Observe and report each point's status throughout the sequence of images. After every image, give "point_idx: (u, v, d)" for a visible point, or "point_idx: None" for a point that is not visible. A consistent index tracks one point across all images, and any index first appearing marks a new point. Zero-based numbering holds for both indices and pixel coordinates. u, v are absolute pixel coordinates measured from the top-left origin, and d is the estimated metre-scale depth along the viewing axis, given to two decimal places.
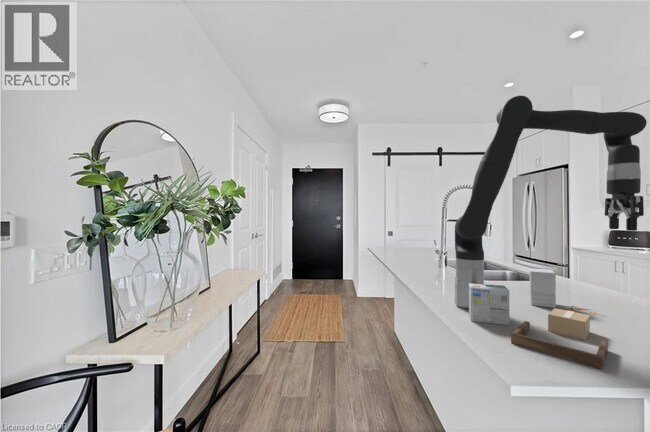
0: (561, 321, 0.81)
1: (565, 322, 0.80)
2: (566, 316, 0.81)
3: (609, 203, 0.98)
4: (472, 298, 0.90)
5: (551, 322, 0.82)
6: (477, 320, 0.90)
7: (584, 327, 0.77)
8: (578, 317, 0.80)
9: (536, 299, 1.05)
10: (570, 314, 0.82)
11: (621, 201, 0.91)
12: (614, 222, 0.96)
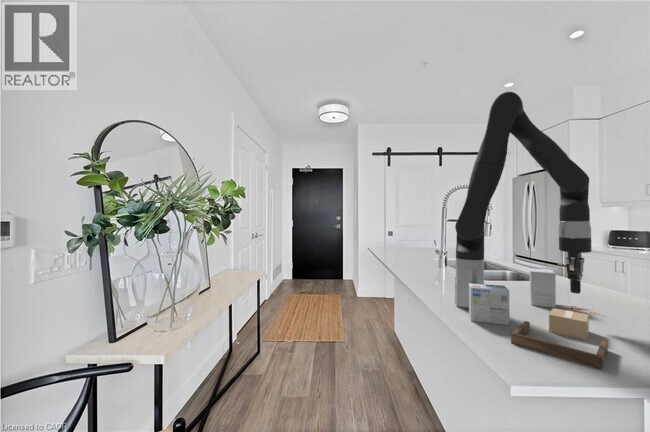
0: (562, 321, 0.80)
1: (566, 322, 0.80)
2: (567, 316, 0.81)
3: None
4: (472, 298, 0.90)
5: (552, 323, 0.82)
6: (477, 320, 0.90)
7: (585, 327, 0.77)
8: (578, 317, 0.80)
9: (536, 299, 1.05)
10: (570, 314, 0.82)
11: (568, 261, 0.88)
12: None
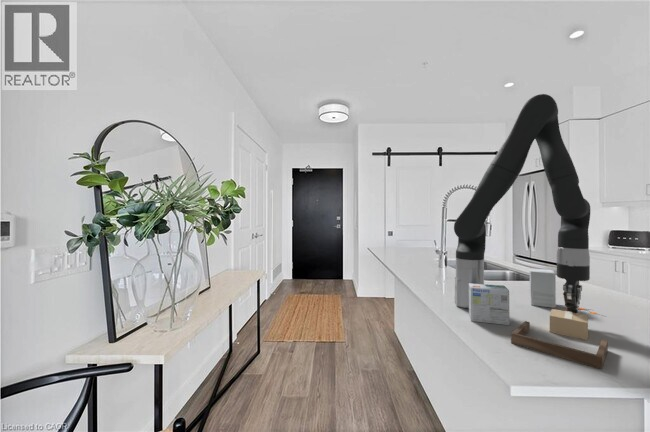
0: (563, 322, 0.80)
1: (567, 323, 0.79)
2: (567, 317, 0.80)
3: None
4: (472, 298, 0.90)
5: (552, 324, 0.82)
6: (477, 320, 0.90)
7: (586, 328, 0.77)
8: (578, 318, 0.80)
9: (536, 299, 1.05)
10: (570, 315, 0.82)
11: (565, 288, 0.86)
12: None
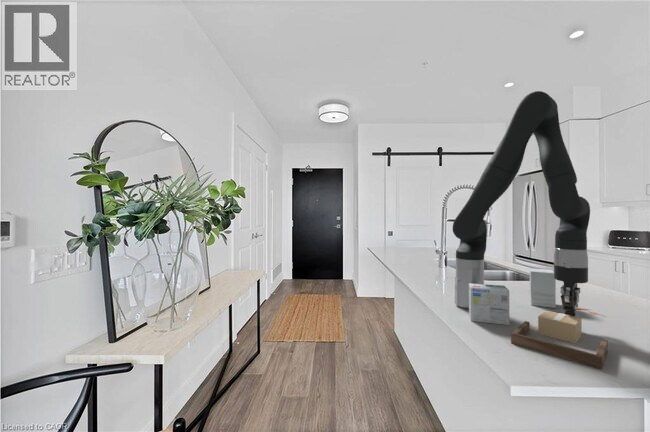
0: (551, 323, 0.79)
1: (555, 324, 0.78)
2: (556, 319, 0.79)
3: None
4: (472, 298, 0.90)
5: (541, 325, 0.80)
6: (477, 320, 0.90)
7: (574, 330, 0.75)
8: (568, 320, 0.78)
9: (536, 299, 1.05)
10: (561, 317, 0.80)
11: (563, 291, 0.83)
12: None
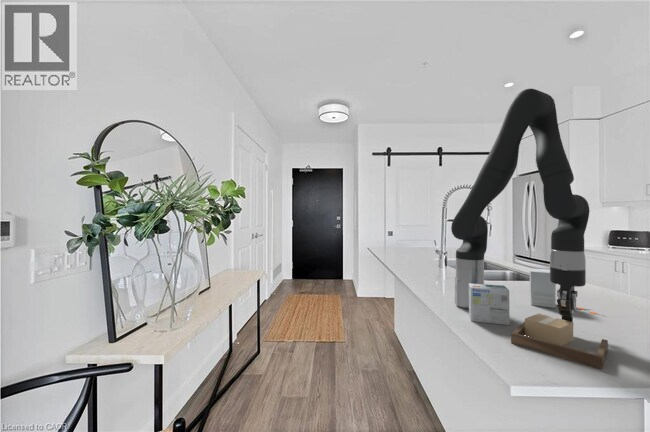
0: (537, 326, 0.77)
1: (541, 327, 0.76)
2: (543, 321, 0.77)
3: None
4: (472, 298, 0.90)
5: (527, 327, 0.79)
6: (477, 320, 0.90)
7: (559, 334, 0.73)
8: (556, 324, 0.75)
9: (536, 299, 1.05)
10: (550, 320, 0.78)
11: (559, 295, 0.80)
12: None
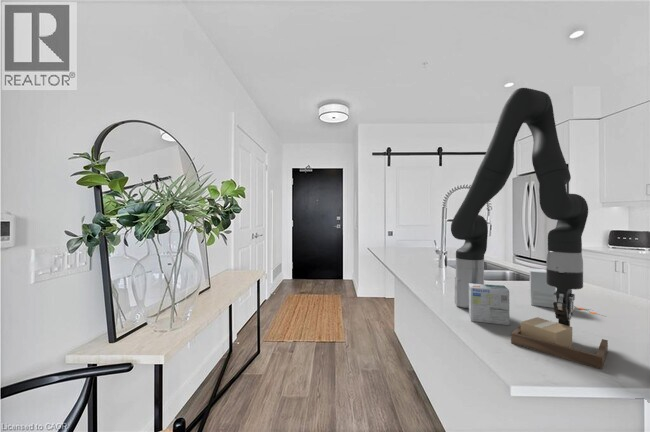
0: (533, 330, 0.74)
1: (536, 331, 0.73)
2: (539, 325, 0.74)
3: None
4: (472, 298, 0.90)
5: (523, 331, 0.76)
6: (477, 320, 0.90)
7: (554, 338, 0.70)
8: (552, 328, 0.73)
9: (536, 299, 1.05)
10: (547, 324, 0.75)
11: (556, 298, 0.77)
12: None
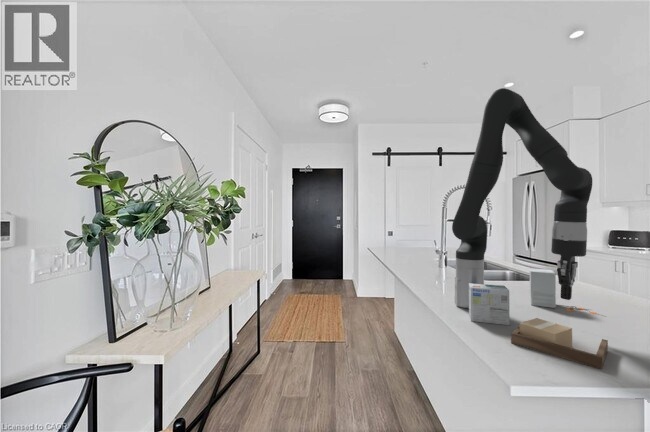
0: (532, 331, 0.73)
1: (535, 333, 0.73)
2: (538, 326, 0.73)
3: None
4: (472, 298, 0.90)
5: (522, 332, 0.75)
6: (477, 320, 0.90)
7: (554, 340, 0.69)
8: (552, 329, 0.72)
9: (536, 299, 1.05)
10: (547, 325, 0.74)
11: (559, 265, 0.82)
12: None
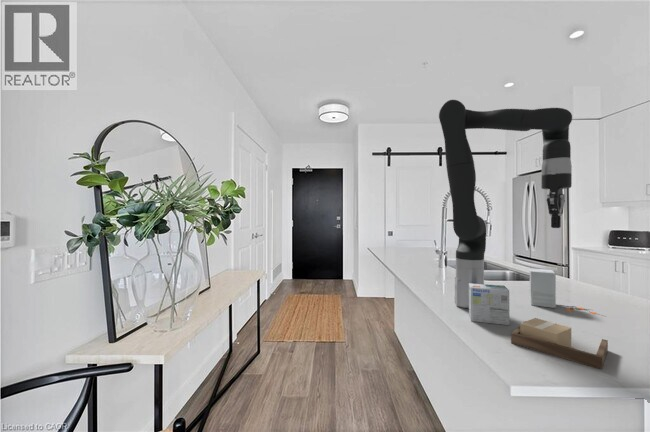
0: (533, 331, 0.73)
1: (537, 333, 0.72)
2: (539, 327, 0.73)
3: None
4: (472, 298, 0.90)
5: (523, 333, 0.75)
6: (477, 320, 0.90)
7: (555, 340, 0.69)
8: (553, 329, 0.72)
9: (536, 299, 1.05)
10: (547, 325, 0.74)
11: (549, 198, 0.92)
12: None
